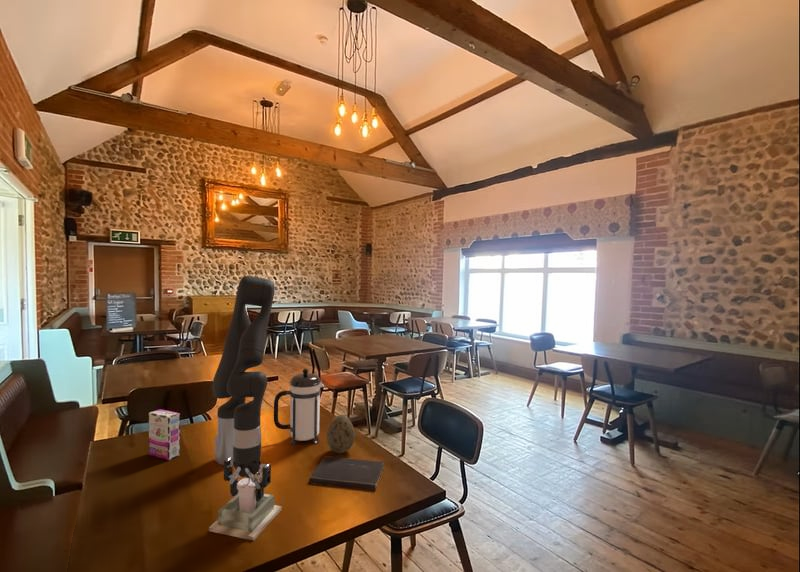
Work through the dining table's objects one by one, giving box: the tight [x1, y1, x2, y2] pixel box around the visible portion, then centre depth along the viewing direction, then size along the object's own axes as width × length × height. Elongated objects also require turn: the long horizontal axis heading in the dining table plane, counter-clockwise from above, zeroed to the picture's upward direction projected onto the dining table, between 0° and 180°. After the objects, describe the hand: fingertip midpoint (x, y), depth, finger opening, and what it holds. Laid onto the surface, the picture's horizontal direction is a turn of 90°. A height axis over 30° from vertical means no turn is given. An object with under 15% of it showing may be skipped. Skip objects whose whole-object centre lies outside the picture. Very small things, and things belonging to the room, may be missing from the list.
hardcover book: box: [308, 455, 386, 492], centre depth 139 cm, size 16×23×2 cm
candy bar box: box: [148, 408, 181, 461], centre depth 150 cm, size 11×5×16 cm, turn 68°
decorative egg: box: [326, 414, 356, 454], centre depth 156 cm, size 11×11×15 cm
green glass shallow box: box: [208, 493, 283, 541], centre depth 113 cm, size 14×14×5 cm
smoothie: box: [237, 477, 260, 514], centre depth 114 cm, size 6×6×14 cm
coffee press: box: [273, 368, 325, 446], centre depth 166 cm, size 17×16×30 cm
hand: (247, 497), depth 113 cm, fingers open, 7 cm apart
